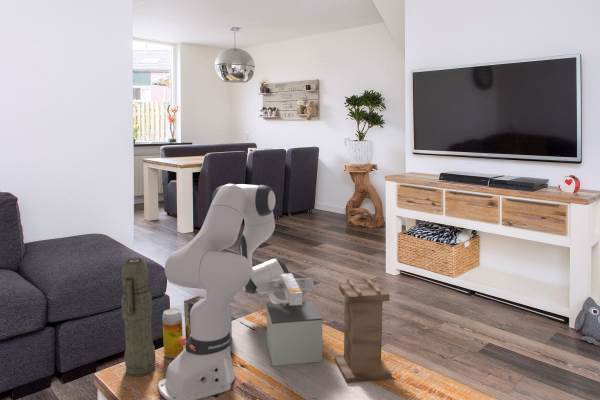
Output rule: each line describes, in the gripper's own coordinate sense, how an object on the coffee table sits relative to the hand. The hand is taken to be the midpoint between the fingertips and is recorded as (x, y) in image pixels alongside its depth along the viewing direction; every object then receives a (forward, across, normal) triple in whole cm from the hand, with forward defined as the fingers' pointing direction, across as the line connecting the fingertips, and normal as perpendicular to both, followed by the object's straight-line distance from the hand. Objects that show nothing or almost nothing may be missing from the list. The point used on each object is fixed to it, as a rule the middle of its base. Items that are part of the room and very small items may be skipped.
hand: (288, 281), depth 164 cm
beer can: (-7, -39, +21) cm, 45 cm away
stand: (+12, +19, +31) cm, 38 cm away
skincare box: (-16, -23, +16) cm, 32 cm away
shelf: (-1, 0, +24) cm, 24 cm away
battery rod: (+4, 0, +5) cm, 6 cm away
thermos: (0, -49, +24) cm, 54 cm away
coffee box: (-11, -30, +18) cm, 37 cm away
